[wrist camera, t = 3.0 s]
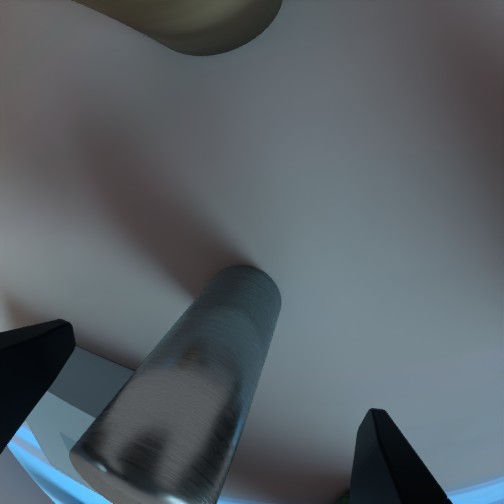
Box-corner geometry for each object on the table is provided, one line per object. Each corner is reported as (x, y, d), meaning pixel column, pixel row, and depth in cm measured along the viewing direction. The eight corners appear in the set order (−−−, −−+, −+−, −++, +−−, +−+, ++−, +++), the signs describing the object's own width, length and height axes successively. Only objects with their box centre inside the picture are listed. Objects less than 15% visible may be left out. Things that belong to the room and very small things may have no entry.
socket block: (209, 396, 15) (181, 454, 11) (202, 492, 19) (185, 531, 15) (39, 327, 17) (-1, 357, 13) (74, 436, 21) (51, 465, 17)
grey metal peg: (287, 274, 12) (212, 495, 4) (273, 339, 13) (206, 542, 5) (211, 257, 12) (51, 421, 4) (205, 322, 13) (88, 492, 5)
